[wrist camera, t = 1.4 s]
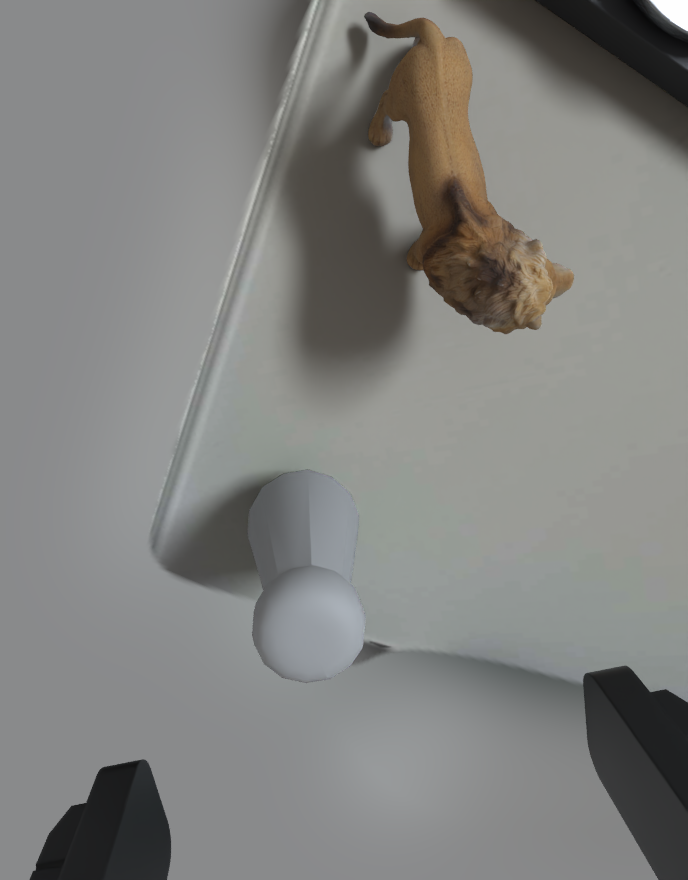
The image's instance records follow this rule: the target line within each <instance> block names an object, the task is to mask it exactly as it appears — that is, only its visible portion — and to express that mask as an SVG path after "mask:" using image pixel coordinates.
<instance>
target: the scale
mask: <svg viewBox="0 0 688 880" xmlns="http://www.w3.org/2000/svg"><path fill="white" fill-rule="evenodd" d="M536 1H538V2H539V3H541V4H542V5H544V6H545V7H546V8H548V9H549V10H551V11H552V12H554V13H555V14H556V15H558V16H559V17H561V18H562V19H563V20H565V21H566V22H568V23H569V24H571V25H572V26H573V27H575V28H576V29H578V30H579V31H581V32H582V33H583V34H585V35H586V36H588V37H589V38H591V39H592V40H593V41H595V42H596V43H598V44H599V45H601V46H602V47H603V48H605V49H606V50H608V51H609V52H611V53H612V54H613V55H615V56H616V57H618V58H619V59H621V60H622V61H623V62H625V63H626V64H628V65H629V66H631V67H632V68H633V69H635V70H636V71H638V72H639V73H640V74H642V75H643V76H645V77H646V78H648V79H649V80H650V81H652V82H653V83H655V84H656V85H658V86H659V87H660V88H662V89H663V90H665V91H666V92H668V93H669V94H670V95H672V96H673V97H675V98H676V99H678V100H679V101H680V102H682V103H683V104H685V105H686V106H688V43H687V42H685V41H683V40H680V39H678V38H675V37H673V36H672V35H670V34H668V33H667V32H665V31H664V30H662V29H660V28H659V27H658V26H657V25H656V24H654V23H653V22H652V21H651V20H650V19H649V18H648V17H647V16H646V15H645V14H644V13H643V12H642V10H641V9H640V8H639V7H638V6H637V4H636V3H635V1H634V0H536Z"/></svg>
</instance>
